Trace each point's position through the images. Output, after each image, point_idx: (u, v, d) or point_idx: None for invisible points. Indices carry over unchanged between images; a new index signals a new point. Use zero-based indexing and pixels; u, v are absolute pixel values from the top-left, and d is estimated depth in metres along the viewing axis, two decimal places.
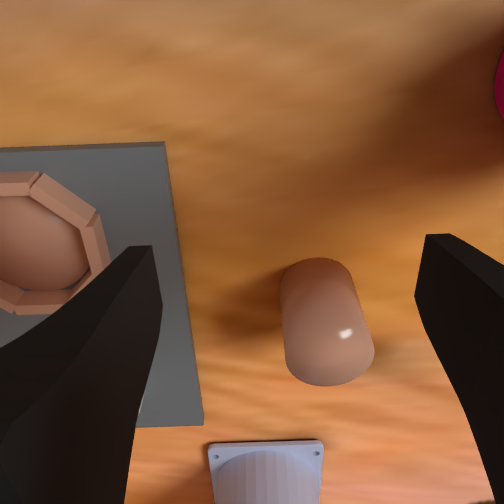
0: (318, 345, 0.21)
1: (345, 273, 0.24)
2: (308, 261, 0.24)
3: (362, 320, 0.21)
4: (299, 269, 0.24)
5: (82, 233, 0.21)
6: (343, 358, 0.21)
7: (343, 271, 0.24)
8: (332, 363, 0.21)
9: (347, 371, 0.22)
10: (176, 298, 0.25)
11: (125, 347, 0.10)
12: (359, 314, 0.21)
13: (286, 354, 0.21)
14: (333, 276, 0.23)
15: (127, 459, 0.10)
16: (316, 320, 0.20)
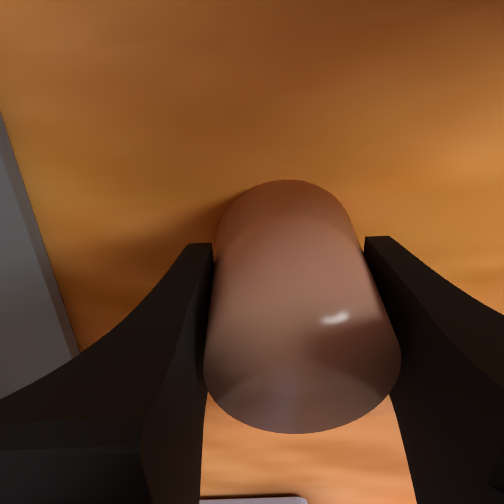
0: (276, 349, 0.09)
1: (338, 209, 0.12)
2: (267, 186, 0.12)
3: (373, 292, 0.10)
4: (248, 201, 0.12)
5: None
6: (332, 376, 0.10)
7: (334, 204, 0.12)
8: (309, 386, 0.10)
9: (341, 403, 0.10)
10: (22, 260, 0.13)
11: (198, 344, 0.10)
12: (367, 280, 0.10)
13: (205, 368, 0.09)
14: (312, 208, 0.11)
15: (200, 457, 0.10)
16: (268, 288, 0.09)
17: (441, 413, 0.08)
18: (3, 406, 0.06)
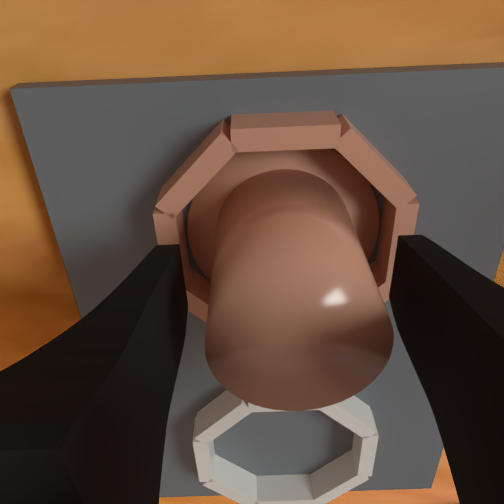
0: (273, 326, 0.10)
1: (334, 196, 0.13)
2: (265, 175, 0.13)
3: (367, 273, 0.10)
4: (247, 189, 0.13)
5: (398, 215, 0.13)
6: (328, 353, 0.10)
7: (330, 192, 0.13)
8: (306, 363, 0.10)
9: (336, 381, 0.10)
10: None
11: (158, 346, 0.10)
12: (361, 261, 0.10)
13: (206, 346, 0.10)
14: (309, 195, 0.12)
15: (161, 458, 0.10)
16: (265, 268, 0.09)
17: (491, 411, 0.08)
18: None
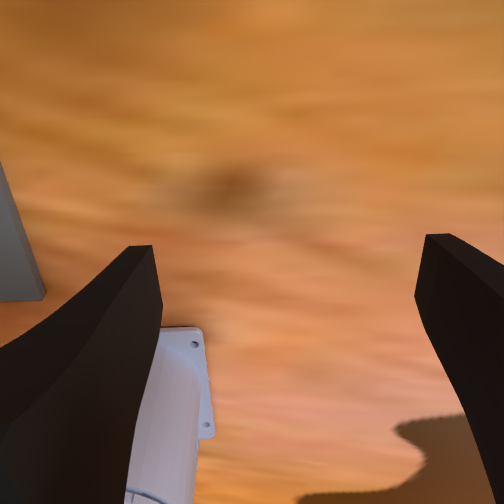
0: None
1: None
2: None
3: None
4: None
5: None
6: None
7: None
8: None
9: None
10: None
11: (125, 347, 0.10)
12: None
13: None
14: None
15: (127, 459, 0.10)
16: None
17: None
18: None
